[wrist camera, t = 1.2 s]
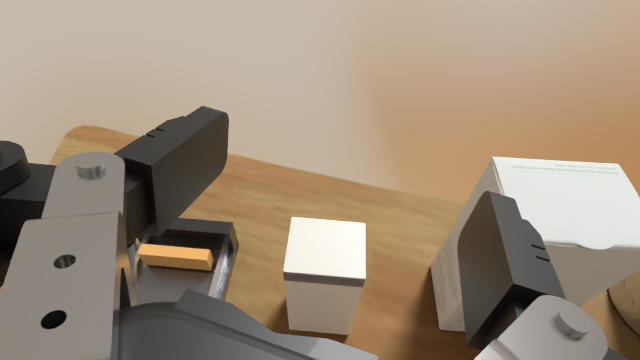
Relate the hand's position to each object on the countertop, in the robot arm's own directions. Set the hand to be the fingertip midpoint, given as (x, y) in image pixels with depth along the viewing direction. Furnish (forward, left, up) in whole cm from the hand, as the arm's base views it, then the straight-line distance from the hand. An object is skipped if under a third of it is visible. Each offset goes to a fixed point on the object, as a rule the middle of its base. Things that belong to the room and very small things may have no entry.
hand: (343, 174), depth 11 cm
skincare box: (-14, -6, -23) cm, 28 cm away
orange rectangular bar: (+13, -7, -22) cm, 26 cm away
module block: (0, -4, -23) cm, 23 cm away
